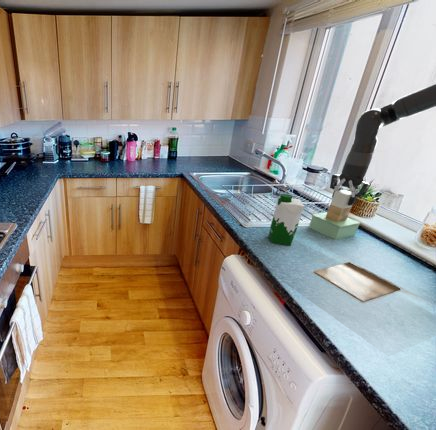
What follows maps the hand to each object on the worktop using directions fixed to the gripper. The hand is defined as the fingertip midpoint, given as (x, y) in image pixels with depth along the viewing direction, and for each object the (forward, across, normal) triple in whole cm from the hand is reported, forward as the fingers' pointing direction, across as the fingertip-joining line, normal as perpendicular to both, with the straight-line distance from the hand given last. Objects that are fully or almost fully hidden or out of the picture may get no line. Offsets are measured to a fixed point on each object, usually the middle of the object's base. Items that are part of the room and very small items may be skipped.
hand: (342, 202), depth 120 cm
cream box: (+2, 0, 0) cm, 2 cm away
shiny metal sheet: (+16, -26, +24) cm, 39 cm away
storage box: (+16, 0, 0) cm, 16 cm away
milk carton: (+16, +3, +26) cm, 31 cm away
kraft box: (+8, 0, 0) cm, 8 cm away
